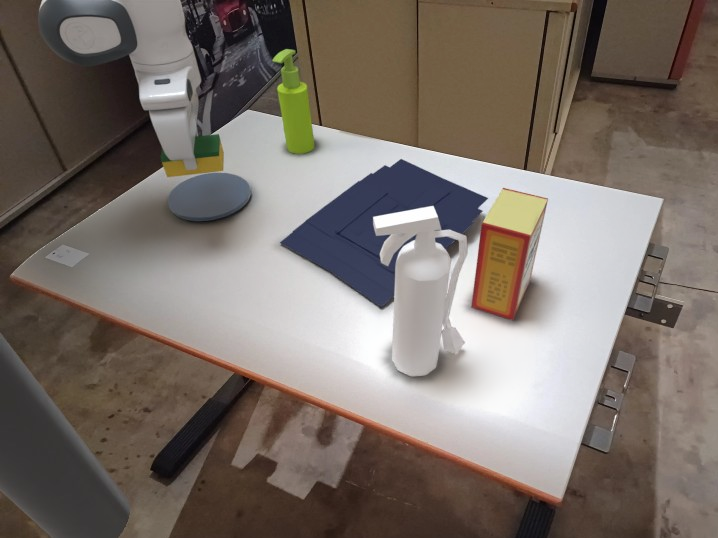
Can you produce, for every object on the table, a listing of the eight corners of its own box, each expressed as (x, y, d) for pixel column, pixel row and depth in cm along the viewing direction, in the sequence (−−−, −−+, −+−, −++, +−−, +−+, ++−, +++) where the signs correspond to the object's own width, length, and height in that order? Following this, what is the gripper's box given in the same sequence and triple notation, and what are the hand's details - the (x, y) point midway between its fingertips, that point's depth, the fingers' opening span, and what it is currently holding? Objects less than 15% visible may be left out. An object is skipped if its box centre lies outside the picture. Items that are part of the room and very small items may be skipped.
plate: (166, 228, 98) (164, 222, 97) (173, 183, 108) (170, 177, 107) (252, 218, 100) (250, 211, 99) (250, 174, 111) (249, 168, 110)
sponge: (167, 177, 90) (160, 158, 88) (170, 158, 94) (163, 139, 92) (223, 171, 92) (218, 151, 89) (223, 152, 96) (218, 133, 93)
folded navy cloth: (496, 214, 98) (497, 198, 96) (384, 319, 85) (382, 304, 82) (395, 167, 110) (393, 151, 107) (282, 253, 96) (277, 238, 94)
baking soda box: (490, 269, 90) (503, 185, 78) (530, 281, 88) (548, 196, 77) (471, 307, 84) (481, 221, 72) (512, 320, 82) (530, 234, 70)
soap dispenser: (279, 153, 116) (262, 56, 102) (295, 138, 121) (281, 43, 107) (303, 158, 115) (289, 60, 101) (319, 143, 119) (308, 47, 105)
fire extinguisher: (471, 372, 75) (492, 223, 57) (383, 384, 73) (377, 235, 56) (459, 335, 80) (475, 187, 62) (376, 345, 78) (369, 197, 61)
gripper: (153, 49, 89) (178, 129, 99) (137, 105, 75) (168, 191, 84) (193, 45, 90) (214, 125, 99) (185, 100, 76) (211, 186, 85)
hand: (193, 156), depth 92 cm, fingers closed on sponge, 6 cm apart
